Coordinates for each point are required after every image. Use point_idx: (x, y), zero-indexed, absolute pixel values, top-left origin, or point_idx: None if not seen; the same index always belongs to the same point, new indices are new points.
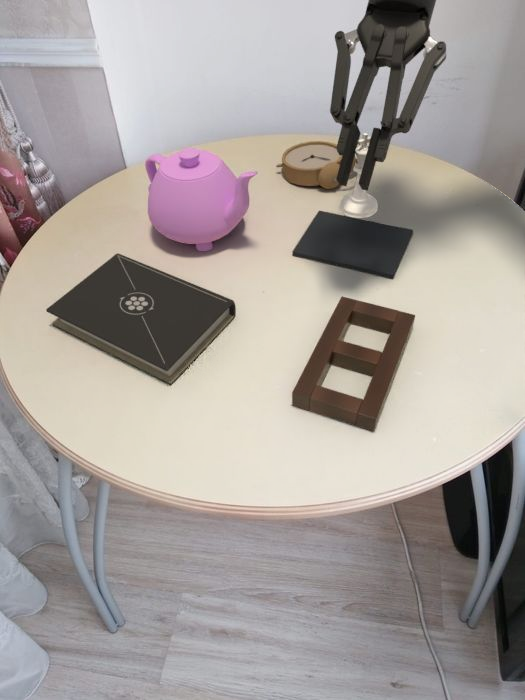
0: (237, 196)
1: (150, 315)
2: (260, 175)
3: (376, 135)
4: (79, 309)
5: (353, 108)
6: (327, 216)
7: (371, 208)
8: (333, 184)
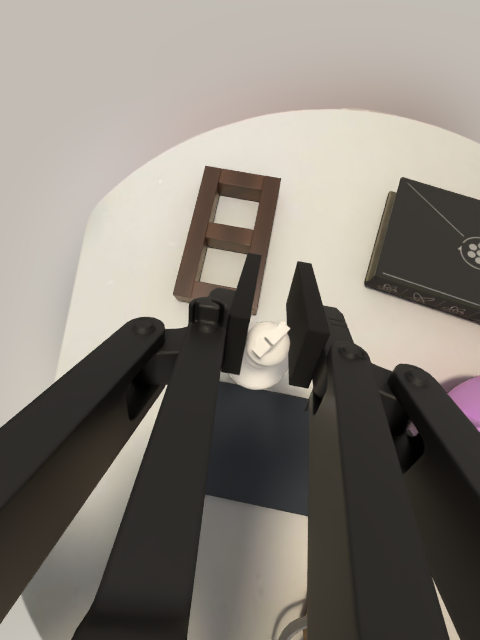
0: (470, 417)
1: (455, 238)
2: (449, 634)
3: (237, 303)
4: None
5: (347, 378)
6: (305, 503)
7: None
8: None
